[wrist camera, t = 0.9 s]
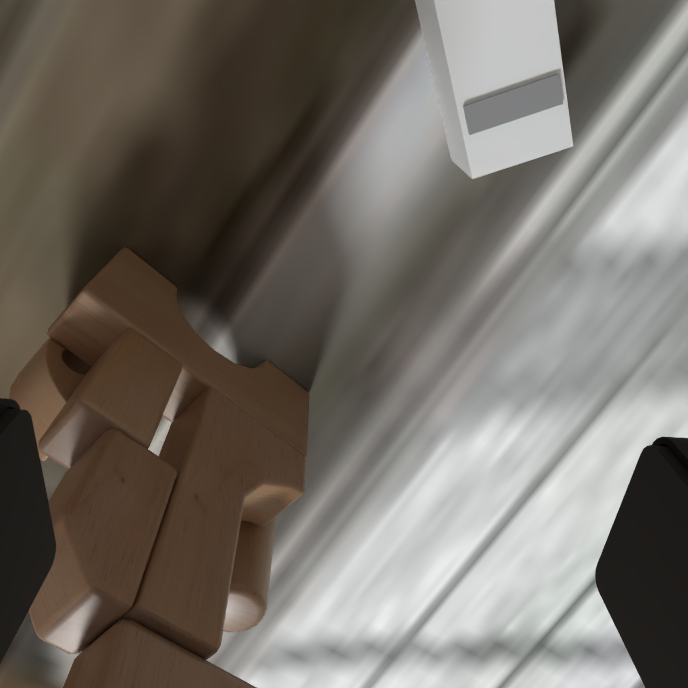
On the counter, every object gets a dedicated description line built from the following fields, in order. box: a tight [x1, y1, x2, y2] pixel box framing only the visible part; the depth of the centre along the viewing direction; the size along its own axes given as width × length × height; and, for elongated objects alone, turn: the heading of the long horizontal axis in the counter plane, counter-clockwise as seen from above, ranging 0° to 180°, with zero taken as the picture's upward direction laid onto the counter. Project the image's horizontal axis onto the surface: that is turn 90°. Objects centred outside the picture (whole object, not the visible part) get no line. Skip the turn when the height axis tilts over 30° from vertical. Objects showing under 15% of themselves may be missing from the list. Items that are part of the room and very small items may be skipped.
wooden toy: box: [9, 247, 309, 688], centre depth 24 cm, size 16×7×25 cm, turn 45°
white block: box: [415, 0, 573, 179], centre depth 25 cm, size 4×13×5 cm, turn 18°
